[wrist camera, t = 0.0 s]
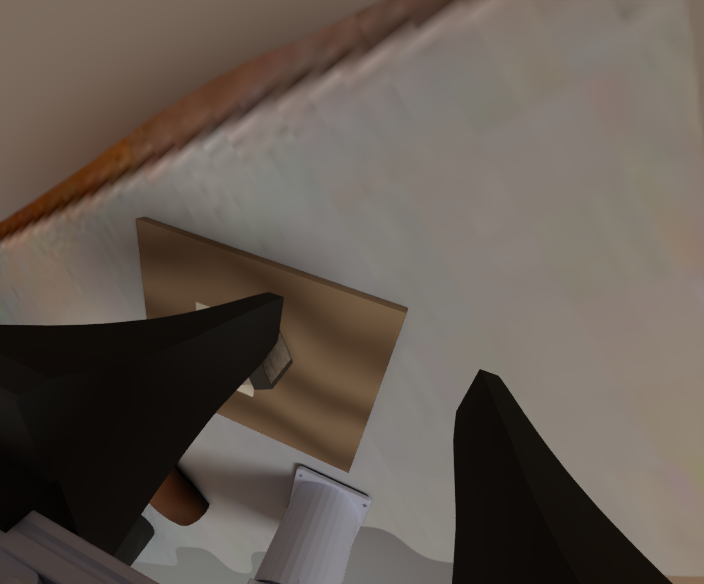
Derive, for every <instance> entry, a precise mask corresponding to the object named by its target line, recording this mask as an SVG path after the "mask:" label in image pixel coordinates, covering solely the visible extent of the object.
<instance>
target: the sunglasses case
mask: <svg viewBox="0 0 704 584" xmlns="http://www.w3.org/2000/svg"><path fill="white" fill-rule="evenodd" d="M149 503H150V504H151V506H153V507H154V508H155V509H156V510H157V511H158V512H159V513H160V514H162V515H163V516H164V517H166V518H167V519H169V520H170V521H172V522H174V523H176V524H178V525H181V526H188V525H191V524H193V523H195V522H196V521H197V520H199V519H200V518H201V517H202V516H203V515H204V514H205V513H206V511H207V509H208V508H209V504H208V502H206V501H205V500H204V499H203V498H202V497H201V496H200V495H199V494H198V493H197V492H196V491H195V489H194V488H193V487H192V486H190V485H189V484H188V482H187V480H185V479H184V478H183V477H182V476H181V475H180V474H179V473H178V470H177V469H176V468H175V466H174V468H173V469H172V471H171V472H170V473H169V475H168V476H167V478H166V479H165V481H164V482H163V483H162V485H161V486H160V488H159V489H158V490H157V492H156V493H155V495H154V496H153V498H152V499H151V500H150V502H149Z"/></svg>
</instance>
